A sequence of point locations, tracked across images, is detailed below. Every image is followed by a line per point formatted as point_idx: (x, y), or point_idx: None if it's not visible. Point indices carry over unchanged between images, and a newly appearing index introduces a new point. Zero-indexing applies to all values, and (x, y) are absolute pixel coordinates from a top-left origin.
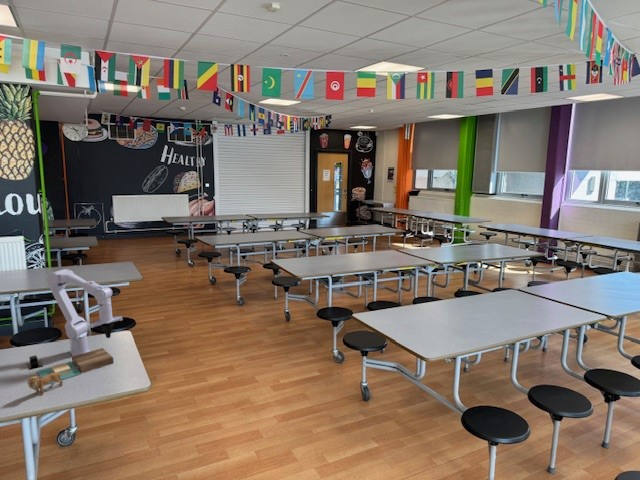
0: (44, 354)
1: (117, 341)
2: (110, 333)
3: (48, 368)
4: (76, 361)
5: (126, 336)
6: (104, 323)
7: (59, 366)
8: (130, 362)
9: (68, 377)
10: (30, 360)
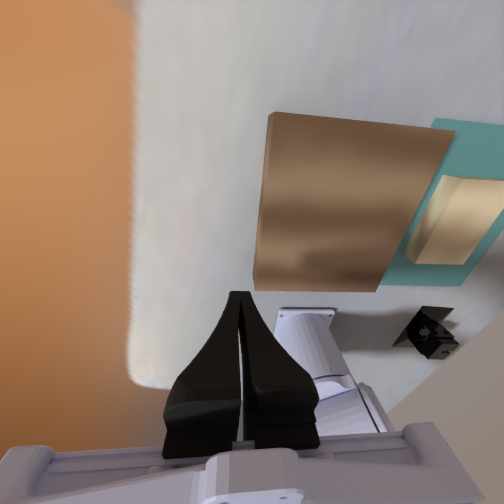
0: (361, 367)
1: (172, 334)
2: (226, 311)
3: (436, 278)
4: (406, 228)
5: (133, 351)
6: (315, 461)
7: (455, 241)
8: (185, 17)
9: (490, 124)
10: (455, 340)
